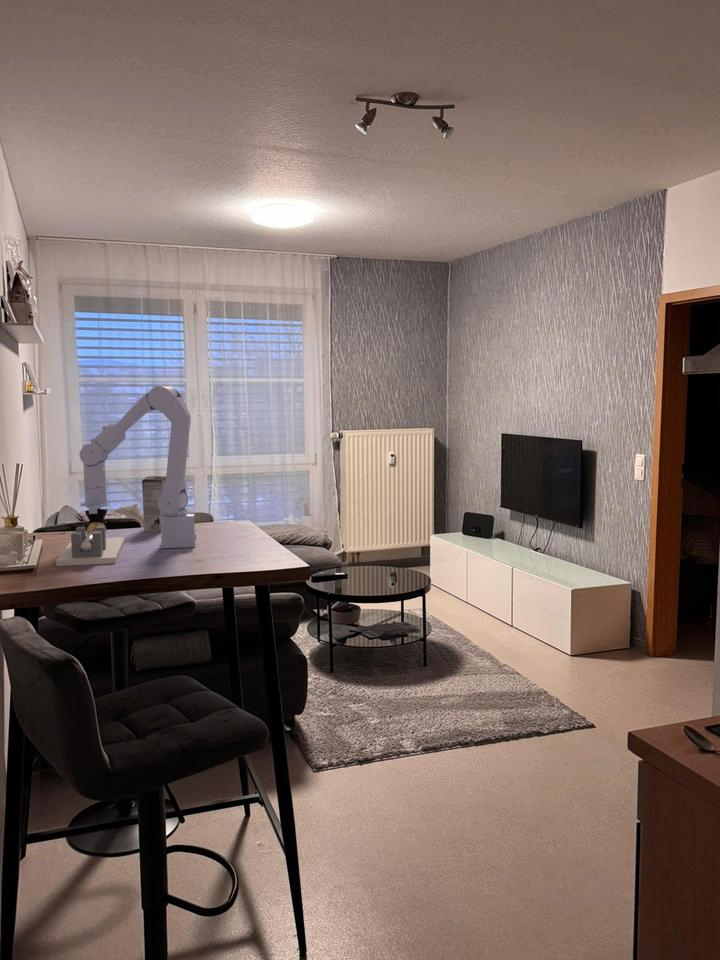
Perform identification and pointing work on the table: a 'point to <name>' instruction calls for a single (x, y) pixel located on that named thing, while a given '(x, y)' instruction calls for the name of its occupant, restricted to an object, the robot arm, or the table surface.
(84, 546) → the shaft
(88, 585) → the table surface
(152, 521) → the coffee box
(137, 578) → the table surface
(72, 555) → the shaft housing
